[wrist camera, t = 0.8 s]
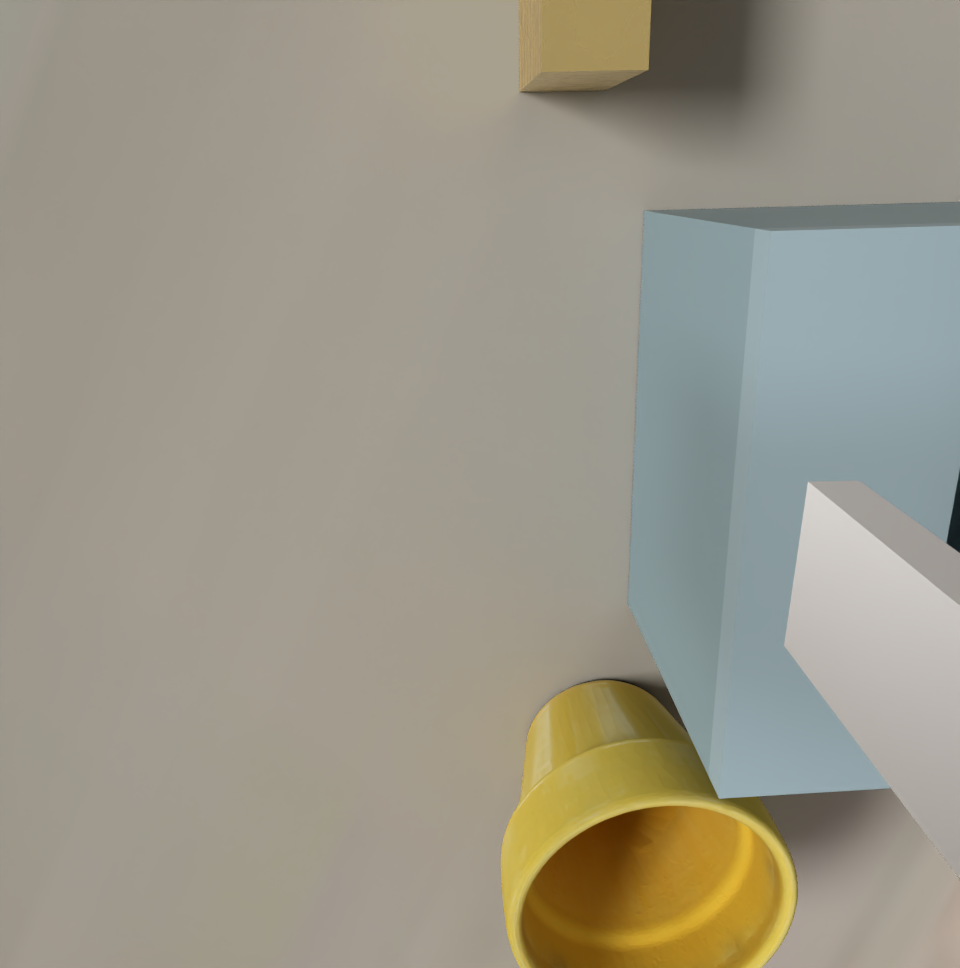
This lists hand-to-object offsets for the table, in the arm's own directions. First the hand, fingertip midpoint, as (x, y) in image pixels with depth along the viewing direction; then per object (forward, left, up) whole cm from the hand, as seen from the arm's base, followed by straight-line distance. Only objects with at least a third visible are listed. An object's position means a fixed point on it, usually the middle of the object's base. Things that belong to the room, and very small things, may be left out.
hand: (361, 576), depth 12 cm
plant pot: (+19, +8, -21) cm, 29 cm away
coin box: (+4, +17, -21) cm, 27 cm away
